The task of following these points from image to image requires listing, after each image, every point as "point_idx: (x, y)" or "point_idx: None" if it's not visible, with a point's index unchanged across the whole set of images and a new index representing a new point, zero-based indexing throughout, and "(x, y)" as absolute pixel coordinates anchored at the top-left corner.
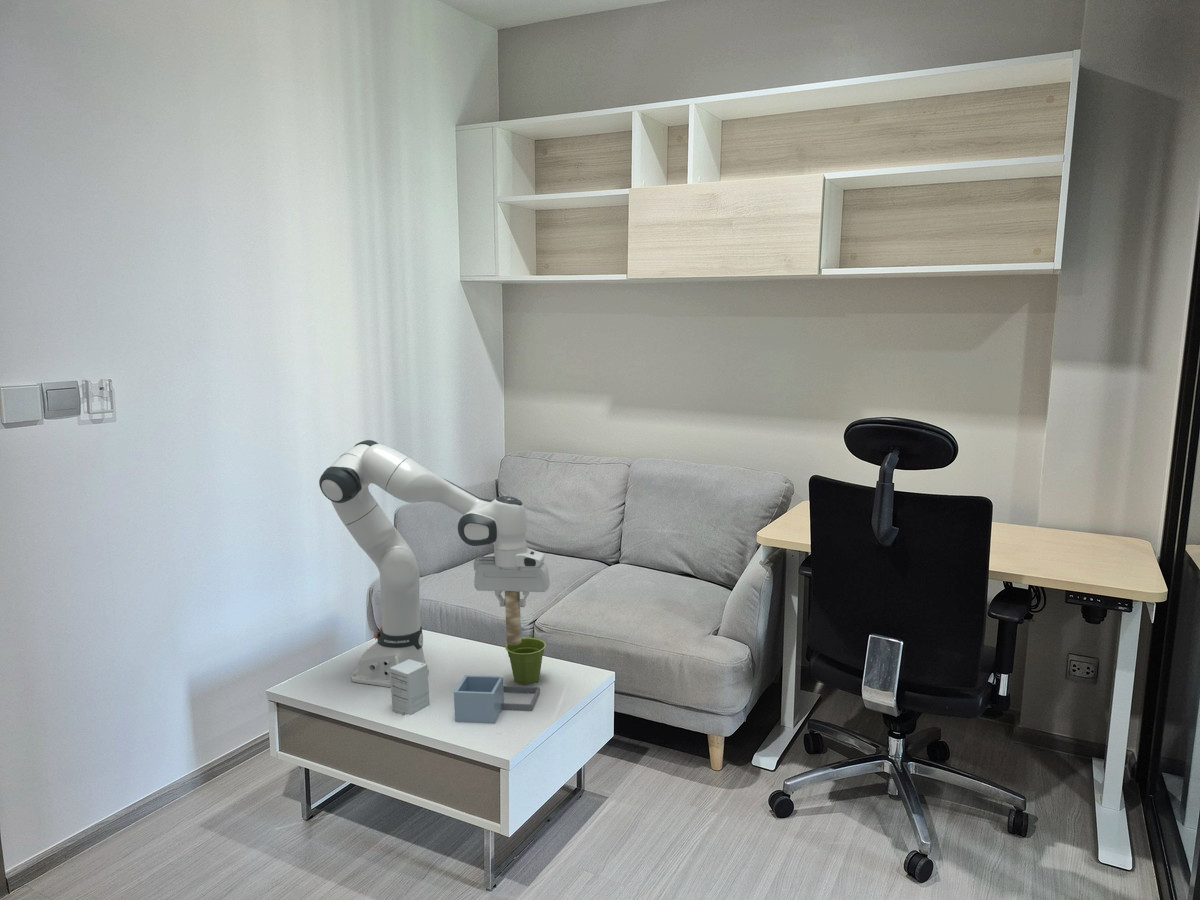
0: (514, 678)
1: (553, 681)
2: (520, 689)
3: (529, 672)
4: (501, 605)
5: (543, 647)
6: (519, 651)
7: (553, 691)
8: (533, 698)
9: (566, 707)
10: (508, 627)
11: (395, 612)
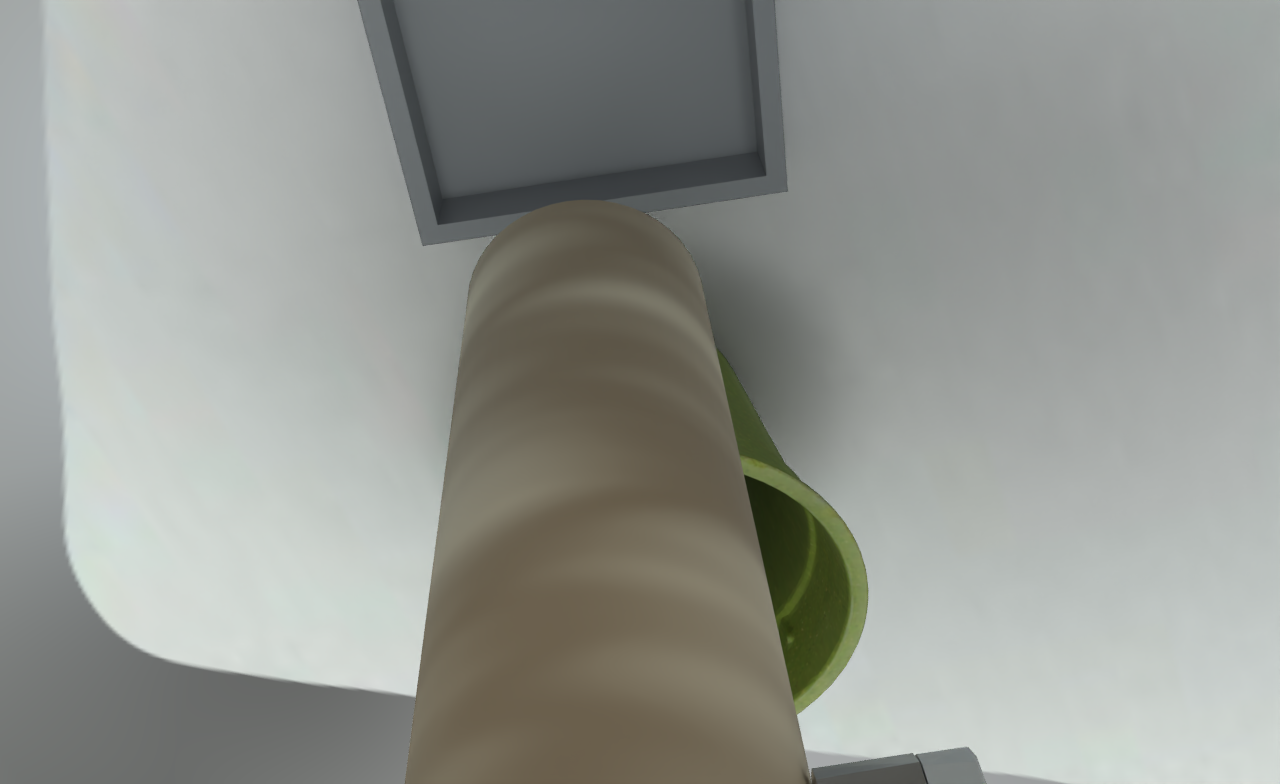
0: (724, 365)
1: (434, 452)
2: (596, 193)
3: None
4: (919, 772)
5: None
6: None
7: (354, 303)
8: (371, 5)
9: (89, 52)
10: (648, 369)
11: None
